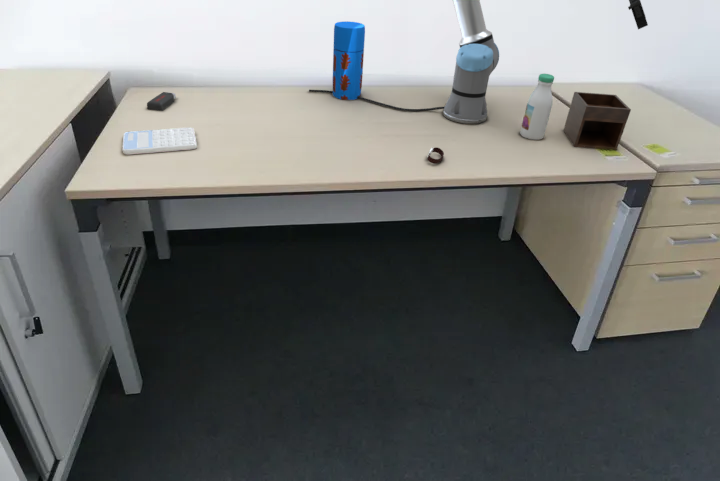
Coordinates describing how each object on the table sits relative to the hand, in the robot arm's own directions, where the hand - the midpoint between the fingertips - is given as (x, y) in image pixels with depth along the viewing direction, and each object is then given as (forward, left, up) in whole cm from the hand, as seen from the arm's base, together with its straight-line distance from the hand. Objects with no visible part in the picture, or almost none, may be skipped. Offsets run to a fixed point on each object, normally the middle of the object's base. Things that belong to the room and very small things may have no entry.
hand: (642, 23), depth 165 cm
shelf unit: (-11, -9, -35) cm, 38 cm away
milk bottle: (-30, -6, -35) cm, 46 cm away
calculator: (-147, -13, -35) cm, 152 cm away
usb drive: (-152, +19, -35) cm, 157 cm away
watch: (-67, -24, -35) cm, 79 cm away
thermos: (-88, +31, -35) cm, 100 cm away
